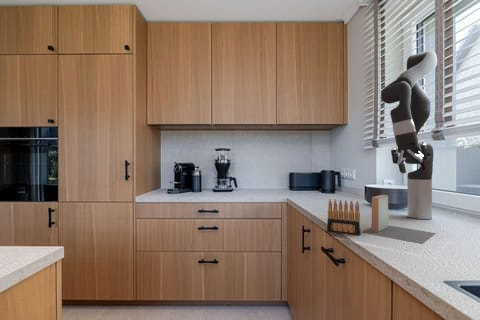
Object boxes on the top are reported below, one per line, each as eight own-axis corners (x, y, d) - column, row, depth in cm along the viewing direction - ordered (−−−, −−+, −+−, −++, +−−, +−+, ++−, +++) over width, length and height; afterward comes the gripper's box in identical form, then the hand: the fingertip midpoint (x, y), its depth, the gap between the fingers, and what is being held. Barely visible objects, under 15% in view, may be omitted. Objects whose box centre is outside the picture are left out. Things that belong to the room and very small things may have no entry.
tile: (382, 226, 102) (382, 194, 102) (388, 227, 101) (388, 195, 101) (371, 231, 95) (371, 197, 95) (378, 232, 94) (378, 197, 94)
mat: (380, 225, 106) (380, 224, 106) (436, 234, 93) (436, 233, 93) (361, 234, 94) (361, 232, 94) (422, 245, 81) (422, 243, 81)
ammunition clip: (326, 233, 95) (326, 199, 95) (328, 232, 97) (328, 198, 97) (359, 237, 90) (359, 201, 90) (360, 236, 92) (360, 200, 92)
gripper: (428, 127, 104) (438, 169, 103) (394, 134, 117) (403, 171, 116) (416, 130, 101) (426, 172, 100) (382, 137, 114) (391, 175, 113)
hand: (413, 172), depth 108 cm, fingers open, 8 cm apart
